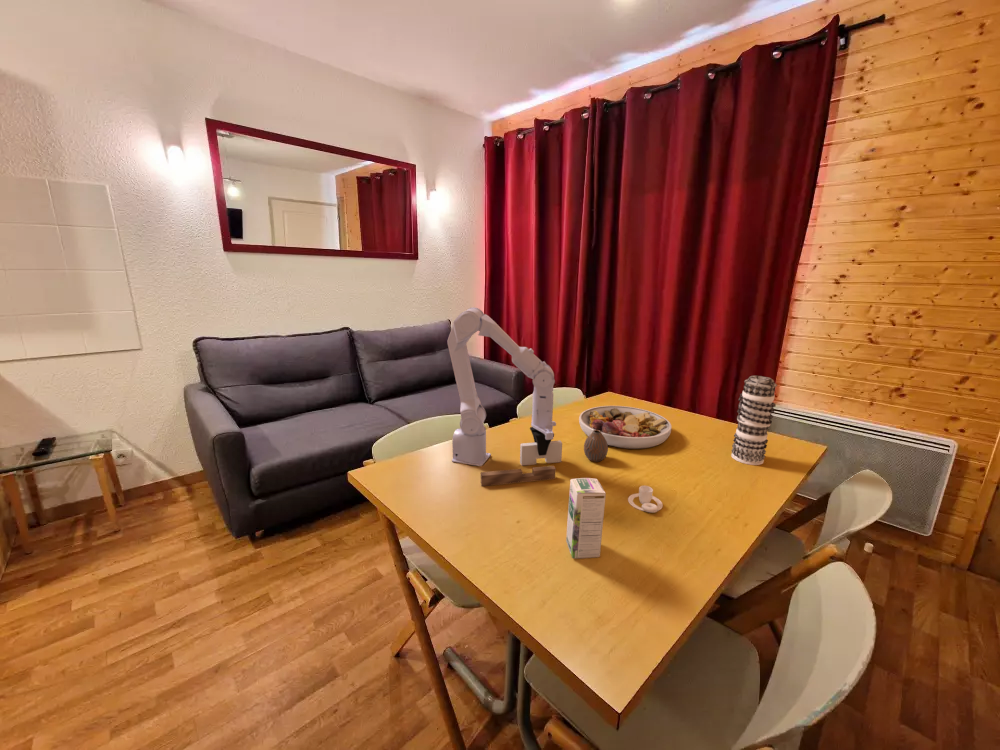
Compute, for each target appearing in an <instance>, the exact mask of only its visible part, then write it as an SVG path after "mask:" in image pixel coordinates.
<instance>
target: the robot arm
mask: <svg viewBox="0 0 1000 750" xmlns="http://www.w3.org/2000/svg"><path fill="white" fill-rule="evenodd" d="M477 332H478V334H477V335H478V336H480V337H488V338H491V339H492V340H493V341H494V342H495V343H496V344H498V345H499V346H500V347H501V348H502V349H504V350H505V351H506V352H507V353H508V354H509V355H511V362H512V364H514V366H516V368H517V369H519V370H520V371H521V372H522V373H523V374H524V375H525V376H526V377H527V378H529V379H532V385H533V392H532V412H531V424H530V425H531V427H529V430H530V431H531V435H532V437H533V438H532V439H533V443H534V442H537V449H538V454H539V456H541V455H546V453H547V450H548V447H549V444H550V442H551V441H553V440H554V437H555V433H554V429H553V428H554V427H556V426H557V422H556V421H554V420H553V411H554V385H555V383H556V380H555V373H554V371H553V369H552V368H551V366H550V365H549V364H547V363H546V361H545V360H544V361H542V360H541V359H540V358H539V357H538V356H537V355H535V354H534V353H535V350H533V348H531V347H530V348H529V347H527V346H519V345H518V343H516V342H515V341H514V340H513V339H512V338H511V336H509V334H507V332H505V331H504V330H503V328H502V327H500V326H499V324H497V322H496V321H495V320H493V318H491V317H490V316H489V315H488V314H486V313H484V311H483V310H481V309H480V308H478V307H475V306H474V307H470V308H467V309H466V310H464V311H462V312H461V313H459V315H457V316H456V318H455V319H454V320H453V322H452V327H451V330H450V333H449V335H448V338H447V347H448V352H449V356H450V359H451V361H450V362H451V364H452V370H453V373H454V378H455V382H456V388H457V391H458V395H459V396H458V397H459V400H460V401H459V402H460V406H459V407H460V409H459V410H460V421H459V427H460V428H456V429H455V430H454V432H453V435H452V439H451V440H452V443H451V444H452V459H451V462H453V463H458V464H465V465H470V466H478V467H483V465H484V464H485V462H487V460H488V459H489V458H490V457H491V455H492V454H491V453H490V452H487V429H486V426H485V425H484V423H485V421H486V419H487V412H486V409H485V408H484V406H483V405H482V402H481V399H480V397H478V393H477V388H476V383H475V379H474V374H473V370H472V364H471V360H470V356H469V350H468V346H467V343H468V342H469V340H470V339H471V338H472V337H473V335H475V334H476V333H477Z"/></svg>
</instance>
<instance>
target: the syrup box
mask: <svg viewBox="0 0 1000 750" xmlns="http://www.w3.org/2000/svg"><path fill="white" fill-rule="evenodd" d="M569 481H570V482H569V483H570V484H569V493H568V494H569V497H568V505H567V506H568V509H567V523H566V524H567V525H566V537H565V538H566V539H565V541H566V544H567V548H568V549H569V553H570V555H571V558H572V559H589V558H590V559H591V558H599V557H601V551H602V550H601V546H602V537H603V527H604V526H603V524H604V516H605V515H604V514H605V505H606V494H607V493H606V491H605V490H604V488H603V486H602V485H601V483H600V481H599V480H598V479H597V478H594V477H593V478H591V477H580V478H579V477H578V478H571V479H570V480H569Z"/></svg>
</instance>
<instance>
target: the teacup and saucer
mask: <svg viewBox="0 0 1000 750" xmlns="http://www.w3.org/2000/svg"><path fill="white" fill-rule="evenodd" d="M653 493H654V489H653V488H652V487H651V486H649V485H641V486H639V487H638V493H632V494H630V495H629V496H628V497H627V501H628V503H629V505H630V506H632V507H633V508H634V509H636V510H639V511H642V512H647V513H651V514H652V513H657V512H659V511H660V510H662V508H663V507H664V506H663V502H662V501H661V499H659V498H658V497H656V496H654V495H653ZM635 498H638V500H639V503H640V504H642V505H641V507H640V506H639V505H637V504H635V502H634V499H635ZM652 500H653V501H655V503H656V504H657V505H656V504H655V503H652V502H651V501H652Z"/></svg>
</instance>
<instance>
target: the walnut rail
mask: <svg viewBox="0 0 1000 750" xmlns="http://www.w3.org/2000/svg"><path fill="white" fill-rule="evenodd" d="M556 470H557V469H556V467H555V466H554V465H548V466H547V465H545V466H537V467H532V471H531V472H527V473H524V472H523V470H522V468H516V469H515V468H514V469H504V470H503V469H501V470H493V471H484V472H480V485H481V487H488V486H497V485H506V484H507V485H509V484H518V483H527V482H537V481H538V482H539V481H549V480H556Z"/></svg>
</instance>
